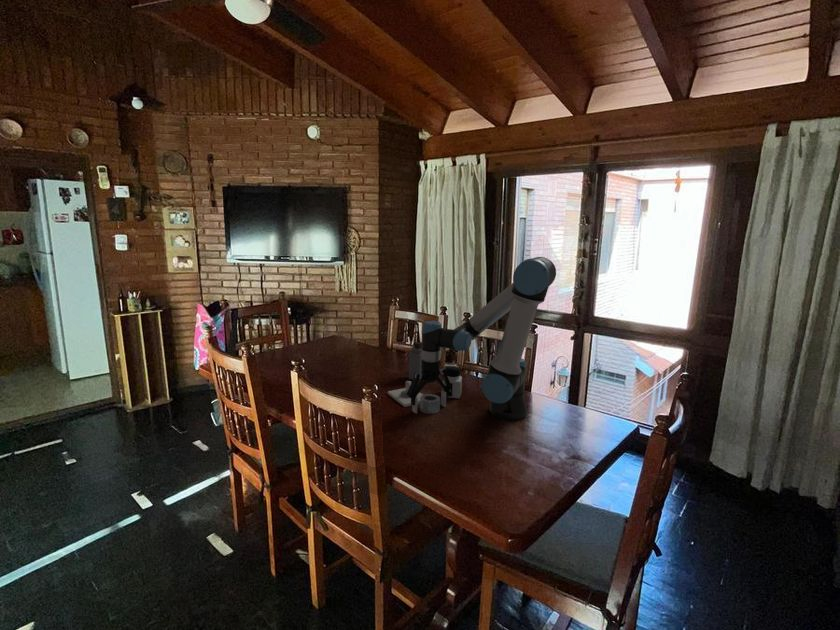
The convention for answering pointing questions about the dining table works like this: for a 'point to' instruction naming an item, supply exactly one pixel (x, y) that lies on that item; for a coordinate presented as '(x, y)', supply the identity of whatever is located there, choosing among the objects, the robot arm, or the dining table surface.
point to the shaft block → (403, 395)
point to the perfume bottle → (415, 360)
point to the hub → (430, 403)
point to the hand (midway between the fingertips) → (429, 409)
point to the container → (454, 381)
